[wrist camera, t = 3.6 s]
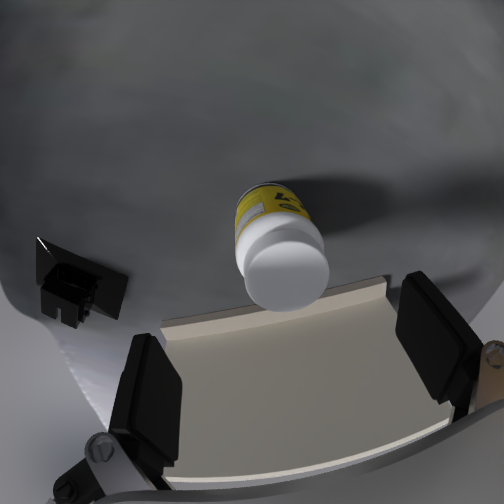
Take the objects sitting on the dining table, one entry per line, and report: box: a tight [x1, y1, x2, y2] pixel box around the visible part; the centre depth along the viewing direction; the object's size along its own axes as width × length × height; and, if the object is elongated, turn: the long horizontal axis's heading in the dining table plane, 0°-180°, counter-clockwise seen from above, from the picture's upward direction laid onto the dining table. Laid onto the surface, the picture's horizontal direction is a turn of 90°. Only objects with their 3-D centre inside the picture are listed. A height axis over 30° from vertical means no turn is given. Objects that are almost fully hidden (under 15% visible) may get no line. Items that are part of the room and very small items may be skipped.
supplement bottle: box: [235, 183, 330, 313], centre depth 17 cm, size 5×5×8 cm
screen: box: [160, 276, 451, 482], centre depth 19 cm, size 20×4×14 cm, turn 102°
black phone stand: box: [36, 237, 129, 329], centre depth 21 cm, size 12×7×5 cm, turn 64°
